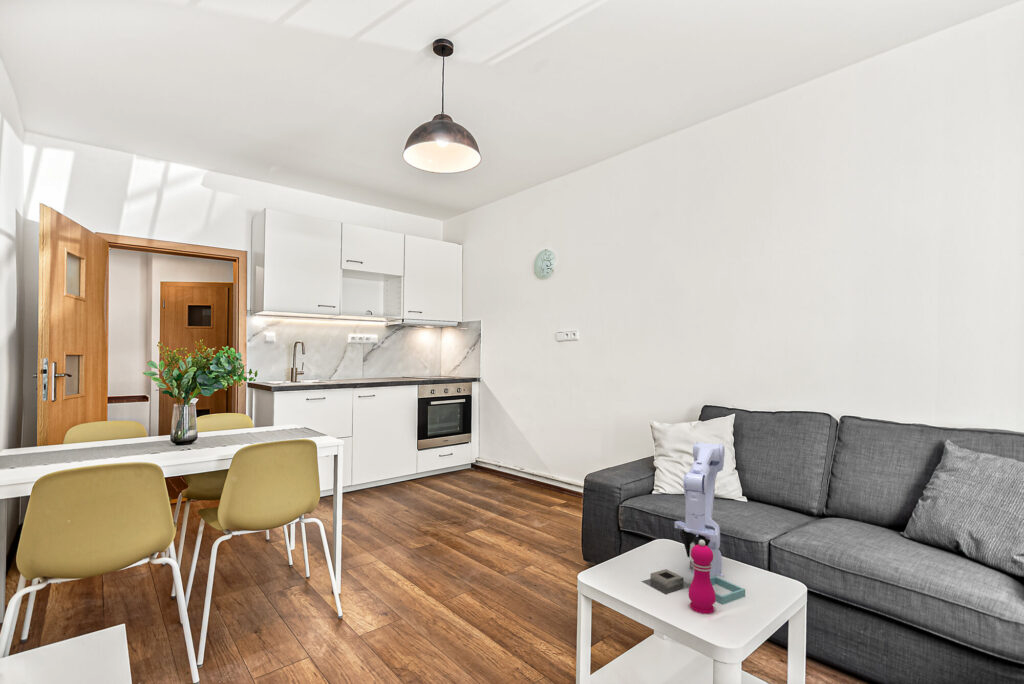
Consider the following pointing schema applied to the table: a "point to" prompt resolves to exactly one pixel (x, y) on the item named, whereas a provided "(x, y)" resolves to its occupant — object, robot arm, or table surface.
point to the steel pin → (690, 556)
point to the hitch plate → (666, 581)
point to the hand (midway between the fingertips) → (695, 558)
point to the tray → (736, 590)
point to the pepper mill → (702, 580)
